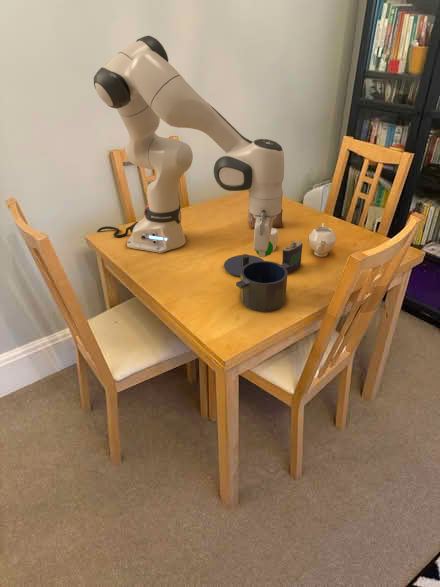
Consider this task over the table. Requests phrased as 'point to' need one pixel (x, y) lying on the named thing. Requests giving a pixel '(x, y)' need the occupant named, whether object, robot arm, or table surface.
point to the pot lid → (239, 263)
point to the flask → (293, 256)
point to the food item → (276, 222)
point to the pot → (263, 285)
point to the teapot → (322, 240)
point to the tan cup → (274, 237)
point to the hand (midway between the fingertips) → (263, 250)
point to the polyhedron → (269, 250)
